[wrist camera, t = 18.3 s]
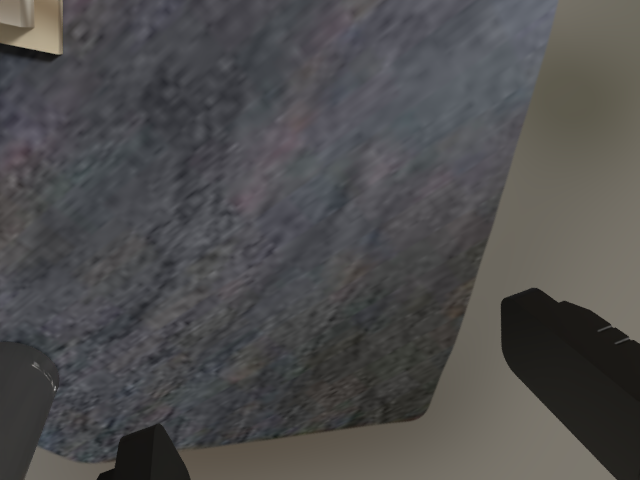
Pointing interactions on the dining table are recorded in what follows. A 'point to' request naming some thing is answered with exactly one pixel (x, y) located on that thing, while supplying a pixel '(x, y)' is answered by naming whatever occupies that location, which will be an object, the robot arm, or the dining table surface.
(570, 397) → the robot arm
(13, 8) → the white peg insertion board
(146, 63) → the dining table surface
